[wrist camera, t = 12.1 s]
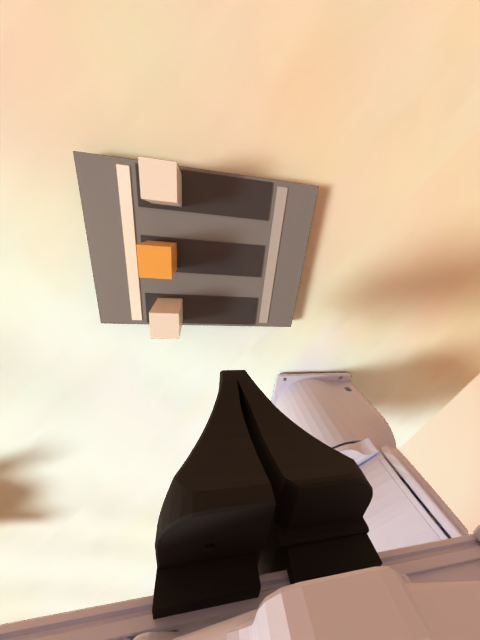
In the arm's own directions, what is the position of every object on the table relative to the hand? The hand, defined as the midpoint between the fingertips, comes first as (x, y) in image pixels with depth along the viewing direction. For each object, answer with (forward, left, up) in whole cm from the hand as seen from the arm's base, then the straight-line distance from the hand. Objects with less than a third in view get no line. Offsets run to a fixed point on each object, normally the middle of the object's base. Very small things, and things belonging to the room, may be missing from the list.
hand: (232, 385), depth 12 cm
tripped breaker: (+5, -5, -9) cm, 11 cm away
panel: (+1, -5, -10) cm, 12 cm away
